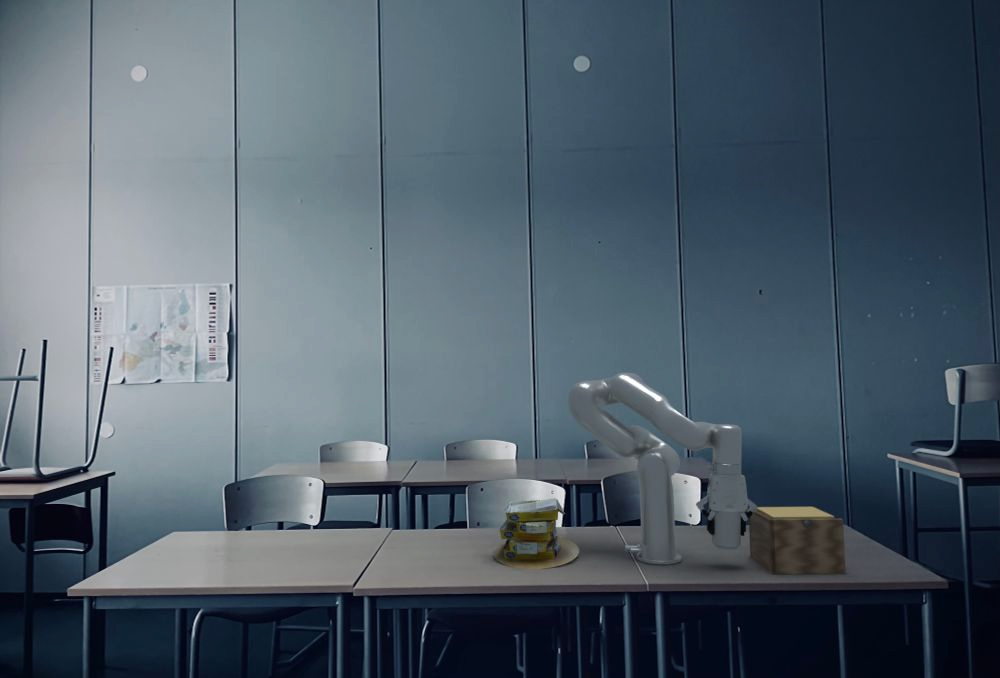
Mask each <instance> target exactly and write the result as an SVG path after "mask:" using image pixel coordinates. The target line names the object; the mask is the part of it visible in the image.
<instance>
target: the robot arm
mask: <svg viewBox="0 0 1000 678" xmlns="http://www.w3.org/2000/svg"><path fill="white" fill-rule="evenodd" d="M567 400H568V401H567V403H568V409H569V413H570V414H571V416H572V418H573V420H574V421H575V422H576V423H577V424H578V425H579V427H581V428H582V429H583V430H585V431H586V432H587V433H589V434H590V435H591V436H593V437H594V438H595V439H596V440H597V441H599V442H600V443H601V444H603V445H604V446H605V447H606V448H608V449H609V450H610V451H612V452H613V453H614V454H615V455H617V456H618V457H619V458H622V459H632V458H634V459H635V460H637V465H636V470H637V471H636V473H637V480H638V486H639V487H638V489H639V504H640V505H639V506H640V510H639V511H640V536H641V537H640V538H641V540H639V542H638V543H636V544H634V545H633V544H625V546H624V549H625V553H627V552H629V553H631V554H636V555H635V557H636V559H637V560H638V561H639V562H641V563H645V564H650V565H659V566H660V565H663V566H664V565H673V564H674V565H675V564H677V563H680V562H681V561H682V555H681V554H680V553H678V552H676V551H677V550H676V523H675V522H676V521H675V519H676V518H675V498H674V497H675V496H674V487H673V481H672V480H673V479H672V477H673V476H674V475H675V474H676V473H677V472H678V471H679V469H680V466H681V460H680V455H679V454H678V452H677V451H676V450H675V449H674V448H672V447H671V445H669V444H667V443H666V442H665V441H663V440H662V439H661V438H659V437H658V436H656V435H655V434H654V433H652V432H650V431H649V430H648V429H647V428H645V427H644V426H643V427H642V426H640V425H636V424H630V425H627V424H625V423H624V422H623V421H620V420H619V419H617V418H616V417H615V416H614V415H612V414H610V412H608V411H606V410H604V409H602V408H601V407H606V406H612V405H617V404H622V405H624V406H626V407H627V408H628V409H631V411H633V412H634V413H637V414H638V415H640V416H641V417H642V418H644V419H645V420H647V421H649V423H650V424H651V425H652V426H653V427H655V428H656V429H657V430H658V431H660V432H661V433H662V434H663V435H664V436H665V437H667V438H668V439H670V440H672V441H673V442H674V443H677V445H679V446H681V447H682V448H685V449H686V450H689V451H691V452H693V451H694V452H696V451H697V452H698V451H701V450H703V449H708V448H712V461H711V464H707V470H709V471H711V473H710V474H709V478H708V482H707V483H708V484H707V493H706V496H704V497H703V498H701V499H700V500H699V501H697V502H696V503H695V505H696V507H697V508H698V510H699V511H700V512H701V514H702V515H703V516H704V517H705V518H706V531H707V532H708V534H709V535H710V536H712V535H714V520H713V517H714V515H715V512H720V511H721V510H722V509H724V508H726V506H725V505H734V507H733V508H735V509H736V510H738V511H739V513H741V536H742V537H744V536H745V533H746V532H747V521H749V517H751V516H752V514H753V512H755V510H756V509H757V507H758V505H757V504H756V503H754V502H753V501H752V500H751V499H749V498H748V490H747V483H746V482H747V481H746V476H745V475H743V474H742V445H743V444H742V438H743V435H742V428H741V427H740V426H739V425H736V424H728V423H725V424H724V423H721V424H720V423H719V424H717V423H716V424H715V423H710V422H706V421H697V422H695V421H693V420H691V419H690V418H688V417H686V416H685V415H683V414H682V413H680V412H679V411H678V410H676V409H675V408H674V407H673V406H672V405H671V404H670V402H669V400H668V398H667V397H666V396H665V395H664V394H662V393H660V392H659V391H657V390H655V389H653V388H652V387H651V386H649V385H647V384H646V383H645V381H644V380H643V378H642V377H641V376H639V375H638V374H637V373H633V372H619V373H616V374H615V375H613V376H612V377H608V378H602V379H598V380H597V379H596V380H593V379H592V380H581V381H579V382H577V383H575V384H574V385H573V386H572V387H571V388H570V390H569V392H568V398H567ZM704 505H706V507H707V508H708V510H706V509H705V507H704ZM748 507H749V509H748Z"/></svg>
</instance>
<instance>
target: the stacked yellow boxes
mask: <svg viewBox="0 0 1000 678" xmlns="http://www.w3.org/2000/svg"><path fill="white" fill-rule="evenodd" d="M503 510H504V511H505V516H506V520H505V521H503V523H502V525H500V528H499V534H500V538H501V540H506V541H504V542H502V543H500V544H499V545H498V546H497V547H496V548H495V550H494V552H493V555H494V558H495V559H496V560H497V561H498V562H499V563H501V564H503V565H504V566H508V567H511V568H517V569H531V570H532V569H533V570H539V569H540V570H543V569H549V568H554V567H558V566H563V565H565V564H567V563H570V562H572V561H573V560H574V559H576V558H577V556H579V553H580V548H579V546H578V545H577V544H576V543H575V542H573V541H572V540H570V539H567V538H564V537H561V536H557V533H558V532H557V531H558V530H557V521H558V519H559V513H560V514H561V515H566V513H565V512H564V509H563V507H562V505H561V503H560V502H559V500H558V499H557V498H548V499H543V500H540V499H538V500H537V499H536V500H535V499H532V500H511V501H509V504H508V505H507V507H506V508H504V509H503Z"/></svg>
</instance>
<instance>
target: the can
mask: <svg viewBox="0 0 1000 678" xmlns="http://www.w3.org/2000/svg"><path fill="white" fill-rule="evenodd" d="M725 506H726V508H724V509H722V510H721V511H720V512H715V515H714V517H713V520H714V535H711V542H712V543H711V544H713V545H714V547H716V548H718V549H723V550H729V551H730V550H737V549H738V548H739V547H740V546H741V542H742V541H741V540H742V539H741V538H742V537H741V513H739V511H738V510H736V509H735V508H733V507H734V505H725Z"/></svg>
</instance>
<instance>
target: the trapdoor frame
mask: <svg viewBox="0 0 1000 678" xmlns="http://www.w3.org/2000/svg"><path fill="white" fill-rule="evenodd" d="M813 507H814V508H816V509H818V508H817V507H815V506H813ZM749 508H750V507H749ZM749 508H748V509H749ZM748 509H747V510H748ZM748 527H749V528H748V532H749V555H750V556H749V557H750V558H751V559H752V560H753V561H754V562H756V563H757V564H758V565H759V566H761V567H762V568H763V569H765V570H766V571H767V572H769V573H770V574H772V575H843V574H844V575H845V574H846V573H847V572H846V571H847V570H846V568H847V567H846V552H845V536H844V535H845V534H844V533H845V531H844V519H842V518H835V519H771V518H769V517H767V516H765V515H764V514H762V513H760V512H758V511H756V510H755V512H753V514H752V516H751V517H749V518H748Z"/></svg>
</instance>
